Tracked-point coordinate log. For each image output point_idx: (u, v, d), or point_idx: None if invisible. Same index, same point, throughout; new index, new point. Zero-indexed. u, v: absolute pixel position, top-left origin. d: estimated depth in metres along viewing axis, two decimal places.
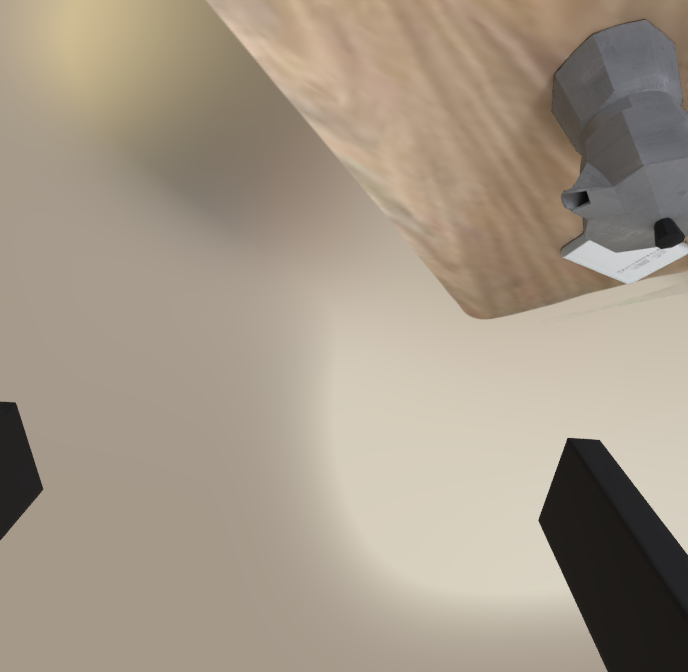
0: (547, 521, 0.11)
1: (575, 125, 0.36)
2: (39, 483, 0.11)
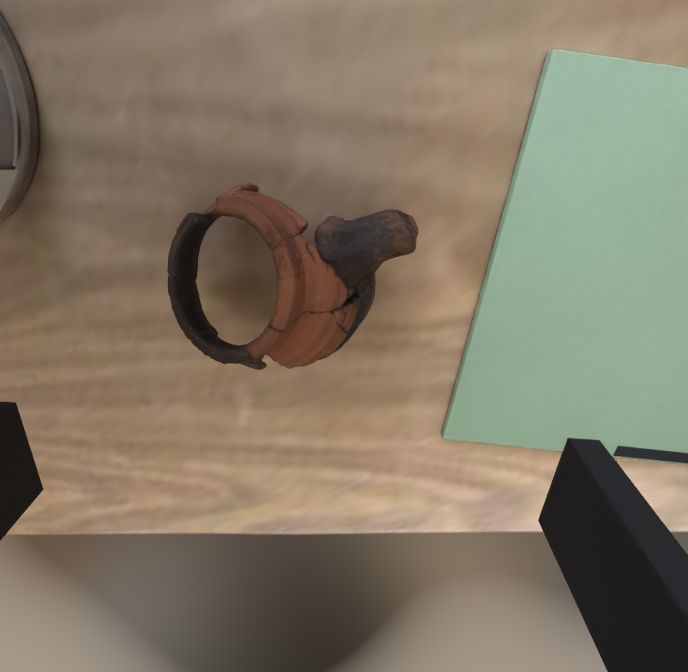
0: (547, 521, 0.11)
1: None
2: (39, 483, 0.11)
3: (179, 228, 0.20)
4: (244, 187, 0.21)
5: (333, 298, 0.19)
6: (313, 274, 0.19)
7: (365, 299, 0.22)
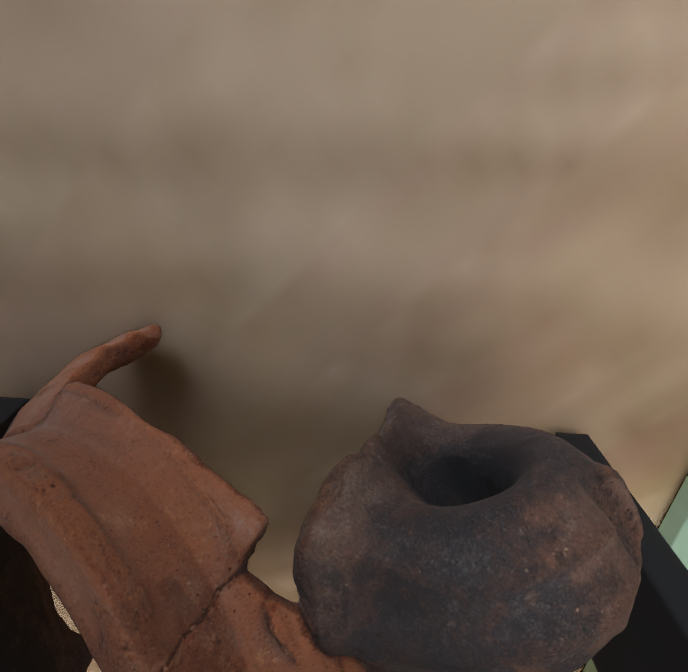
0: None
1: None
2: None
3: None
4: (111, 349, 0.08)
5: None
6: None
7: None
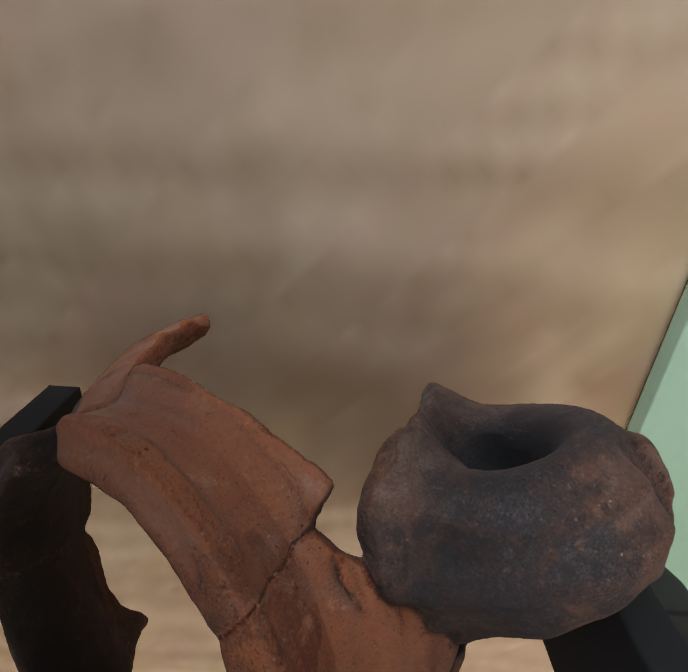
0: None
1: None
2: None
3: None
4: (169, 335, 0.09)
5: None
6: (360, 654, 0.06)
7: None
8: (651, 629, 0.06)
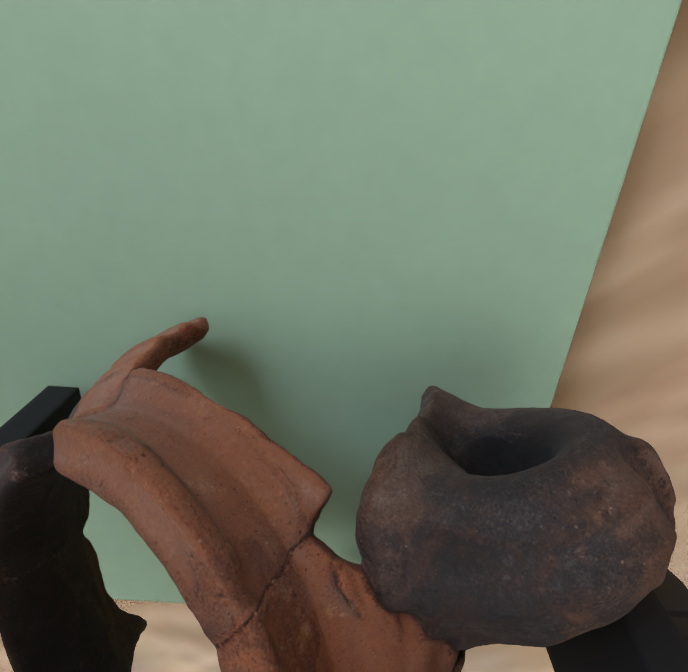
0: None
1: None
2: None
3: None
4: (167, 339, 0.08)
5: None
6: (359, 661, 0.06)
7: None
8: (652, 630, 0.06)
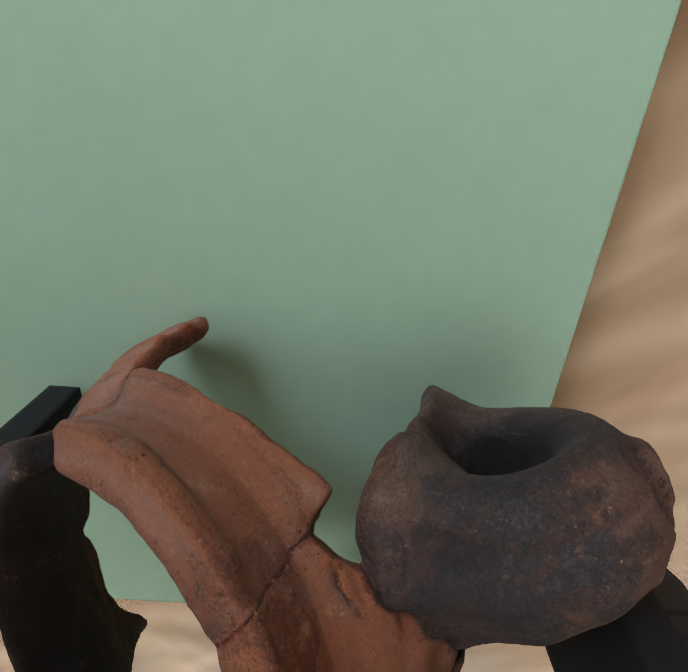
0: None
1: None
2: None
3: None
4: (167, 338, 0.09)
5: None
6: (359, 660, 0.06)
7: None
8: (651, 629, 0.06)
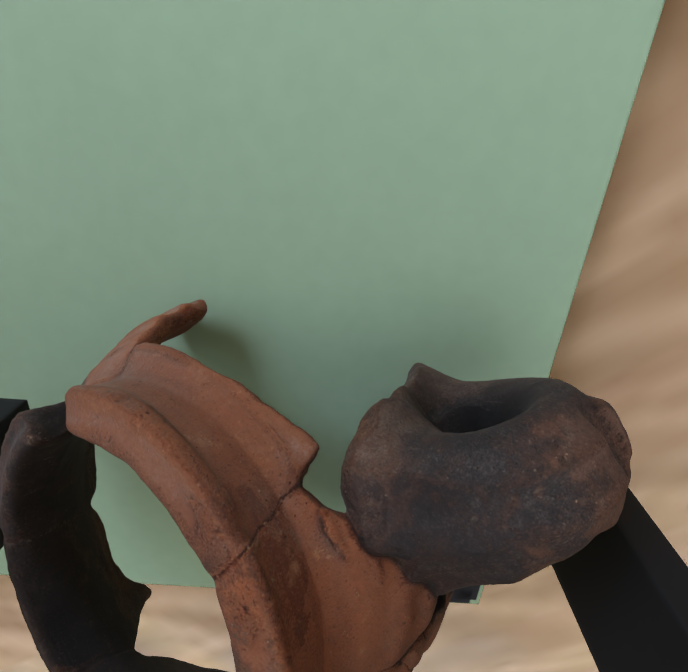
0: None
1: None
2: None
3: (4, 445, 0.08)
4: (168, 318, 0.09)
5: (402, 638, 0.07)
6: (344, 600, 0.06)
7: None
8: None
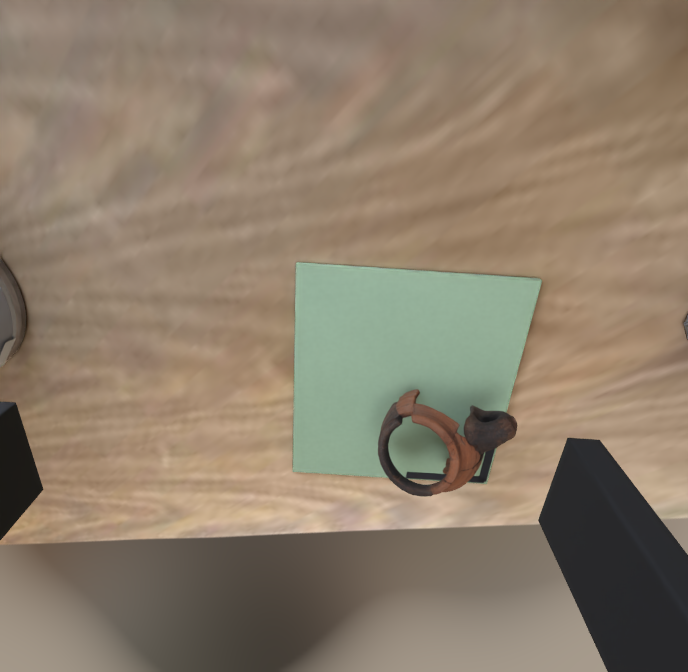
0: (547, 521, 0.11)
1: None
2: (39, 483, 0.11)
3: (387, 425, 0.38)
4: (415, 396, 0.39)
5: (474, 461, 0.37)
6: (465, 452, 0.36)
7: None
8: None
